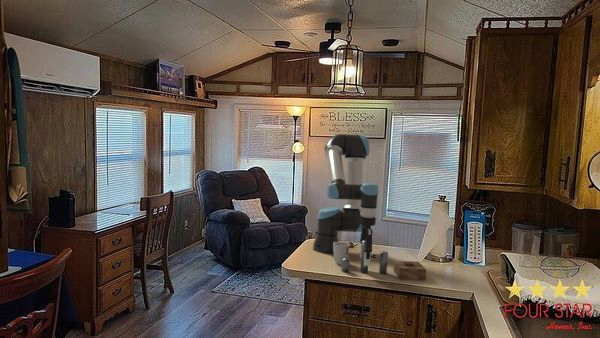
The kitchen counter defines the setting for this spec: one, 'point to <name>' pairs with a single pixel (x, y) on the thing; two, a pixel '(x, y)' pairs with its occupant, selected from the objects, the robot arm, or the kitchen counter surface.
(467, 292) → the kitchen counter surface
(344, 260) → the pin short
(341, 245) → the cup
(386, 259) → the pin medium
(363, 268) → the pin long
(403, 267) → the hole block
